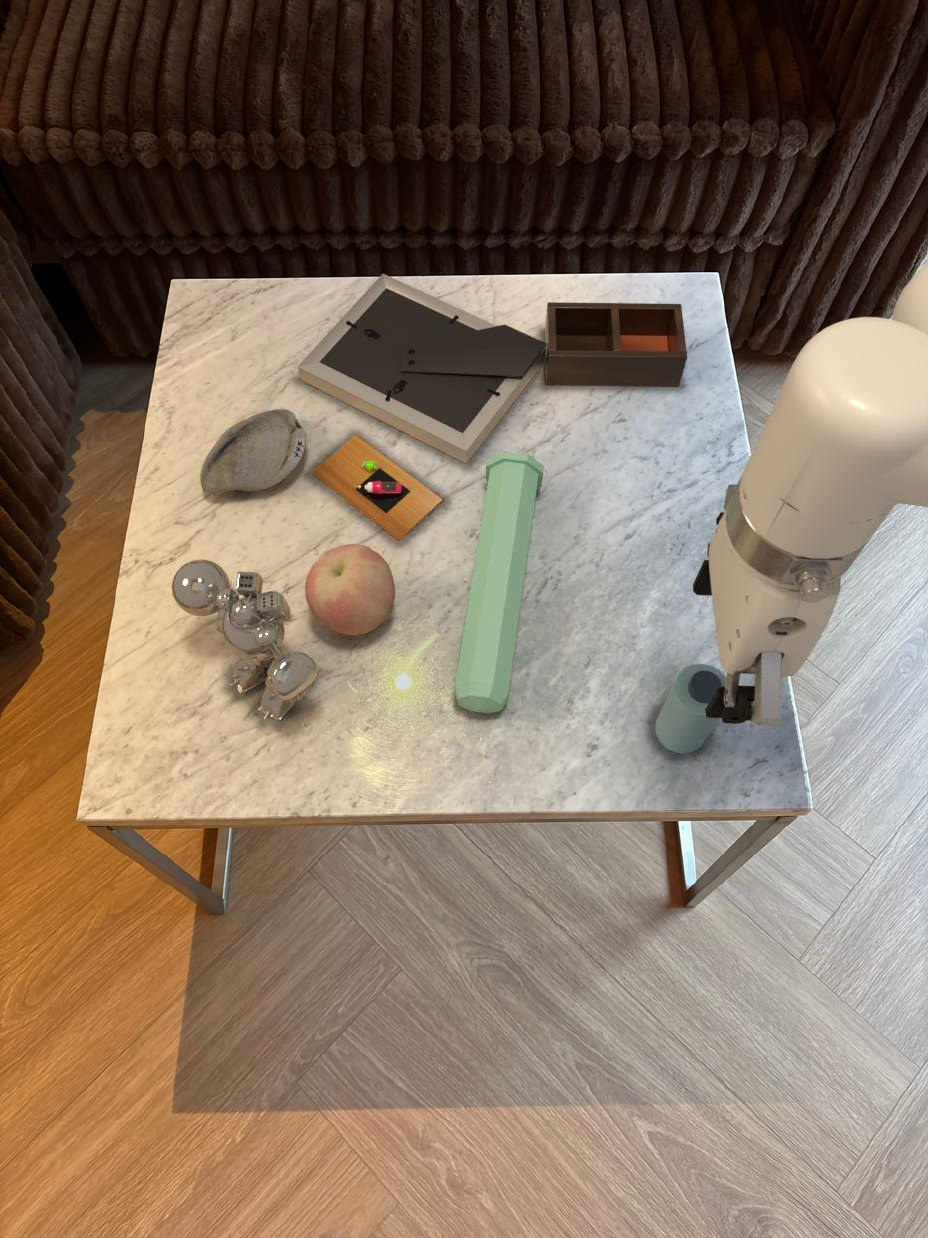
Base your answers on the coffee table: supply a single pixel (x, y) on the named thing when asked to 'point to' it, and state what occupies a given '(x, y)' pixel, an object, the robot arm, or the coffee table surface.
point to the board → (377, 487)
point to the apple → (350, 589)
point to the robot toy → (248, 631)
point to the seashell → (254, 453)
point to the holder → (614, 344)
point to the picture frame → (424, 366)
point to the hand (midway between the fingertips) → (720, 650)
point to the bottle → (689, 709)
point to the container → (497, 582)
